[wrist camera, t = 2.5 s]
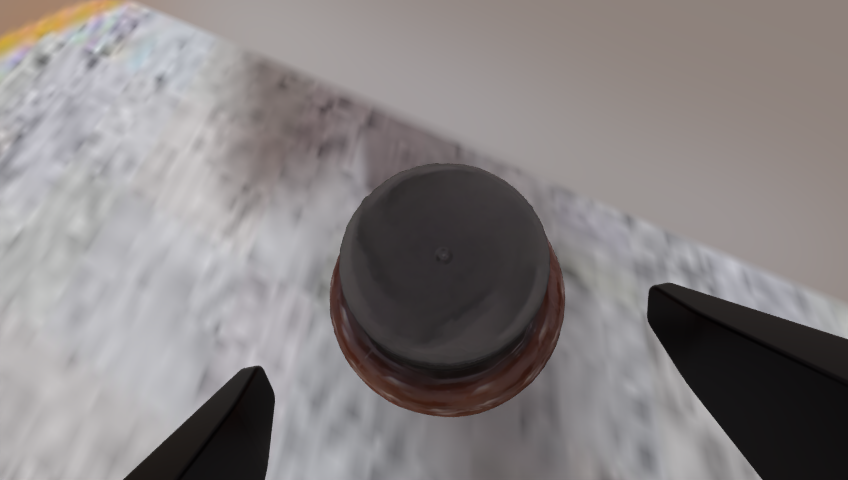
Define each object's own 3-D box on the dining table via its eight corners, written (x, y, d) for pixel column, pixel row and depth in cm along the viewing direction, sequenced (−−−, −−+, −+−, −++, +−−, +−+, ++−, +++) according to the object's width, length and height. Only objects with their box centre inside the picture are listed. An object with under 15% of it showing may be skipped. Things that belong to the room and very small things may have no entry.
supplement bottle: (542, 320, 18) (676, 224, 7) (464, 438, 17) (489, 526, 6) (434, 244, 20) (416, 73, 9) (353, 346, 18) (219, 289, 8)
